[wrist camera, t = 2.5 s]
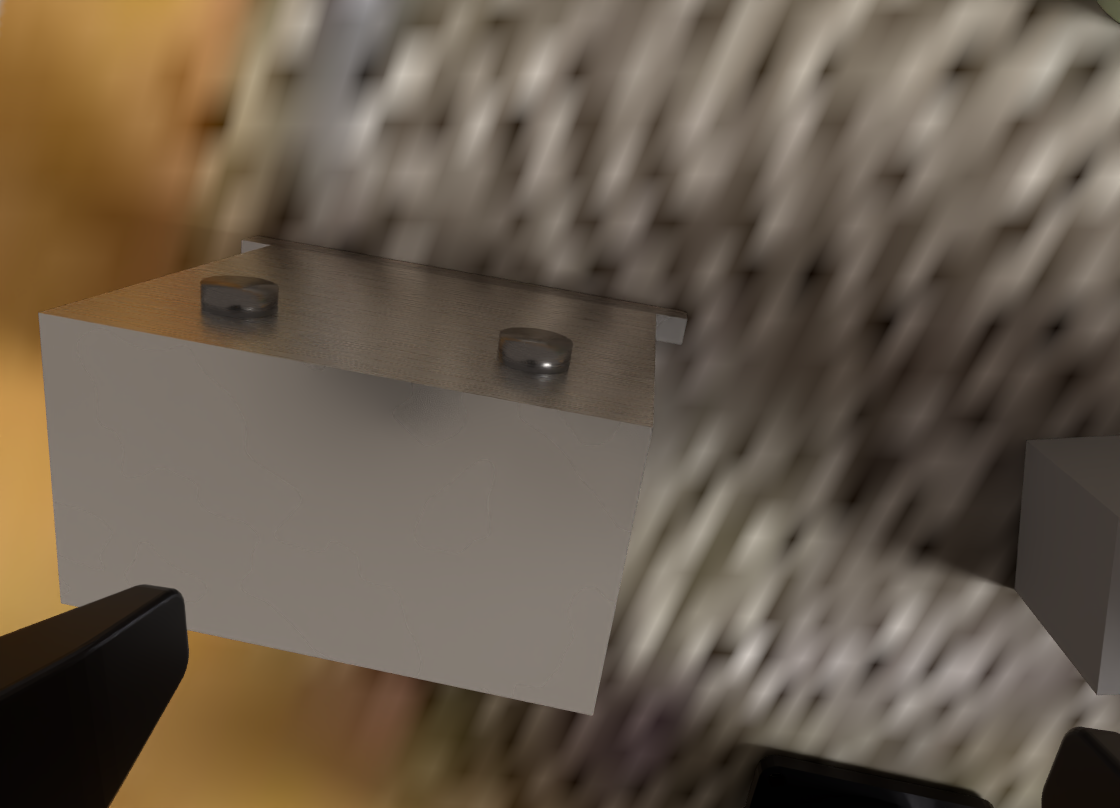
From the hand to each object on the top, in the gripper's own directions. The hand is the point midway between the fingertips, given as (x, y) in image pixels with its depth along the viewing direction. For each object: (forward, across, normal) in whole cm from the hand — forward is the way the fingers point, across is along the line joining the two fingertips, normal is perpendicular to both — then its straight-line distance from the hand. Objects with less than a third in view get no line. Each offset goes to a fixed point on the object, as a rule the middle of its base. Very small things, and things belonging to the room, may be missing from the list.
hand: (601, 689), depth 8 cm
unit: (+12, +4, +1) cm, 12 cm away
